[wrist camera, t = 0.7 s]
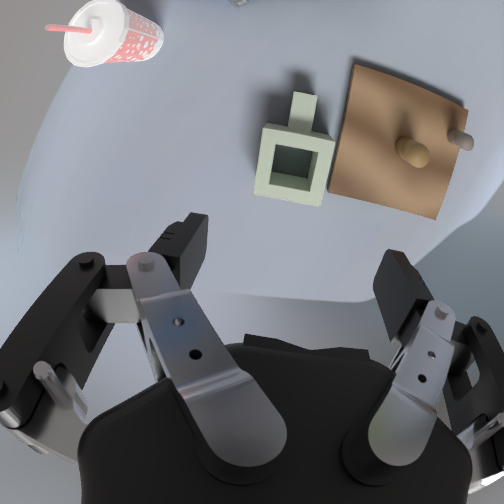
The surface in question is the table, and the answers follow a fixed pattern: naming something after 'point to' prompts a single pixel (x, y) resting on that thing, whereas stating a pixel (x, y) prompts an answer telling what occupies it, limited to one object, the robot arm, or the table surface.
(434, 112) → the locating plate
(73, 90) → the table surface
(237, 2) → the label tape box
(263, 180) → the square ring with handle
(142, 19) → the beverage cup
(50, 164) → the table surface
